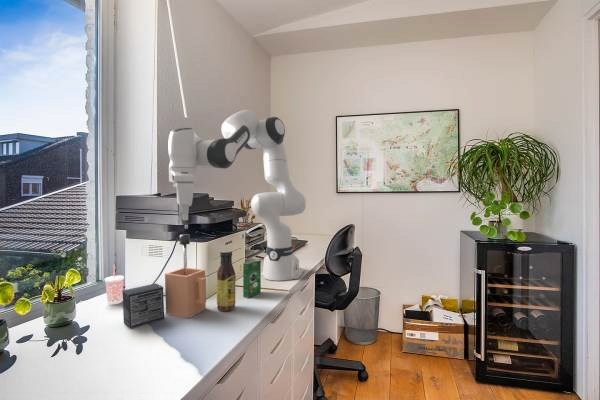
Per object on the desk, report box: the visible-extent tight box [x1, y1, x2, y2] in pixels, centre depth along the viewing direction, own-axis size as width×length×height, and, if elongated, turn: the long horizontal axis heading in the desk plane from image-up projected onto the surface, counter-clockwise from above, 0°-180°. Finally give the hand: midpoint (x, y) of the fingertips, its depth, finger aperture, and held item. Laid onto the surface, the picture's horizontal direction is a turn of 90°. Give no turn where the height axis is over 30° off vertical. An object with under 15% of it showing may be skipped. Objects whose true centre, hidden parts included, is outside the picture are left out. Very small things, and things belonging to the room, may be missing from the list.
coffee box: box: [242, 259, 262, 299], centre depth 128 cm, size 8×3×13 cm, turn 151°
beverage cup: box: [104, 263, 125, 305], centre depth 120 cm, size 6×6×14 cm
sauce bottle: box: [216, 250, 236, 312], centre depth 114 cm, size 7×6×20 cm
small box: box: [122, 282, 165, 329], centre depth 104 cm, size 11×6×10 cm, turn 134°
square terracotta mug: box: [164, 267, 207, 319], centre depth 111 cm, size 9×12×14 cm
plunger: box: [179, 233, 191, 276], centre depth 111 cm, size 7×7×17 cm
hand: (184, 218), depth 110 cm, fingers open, 8 cm apart
